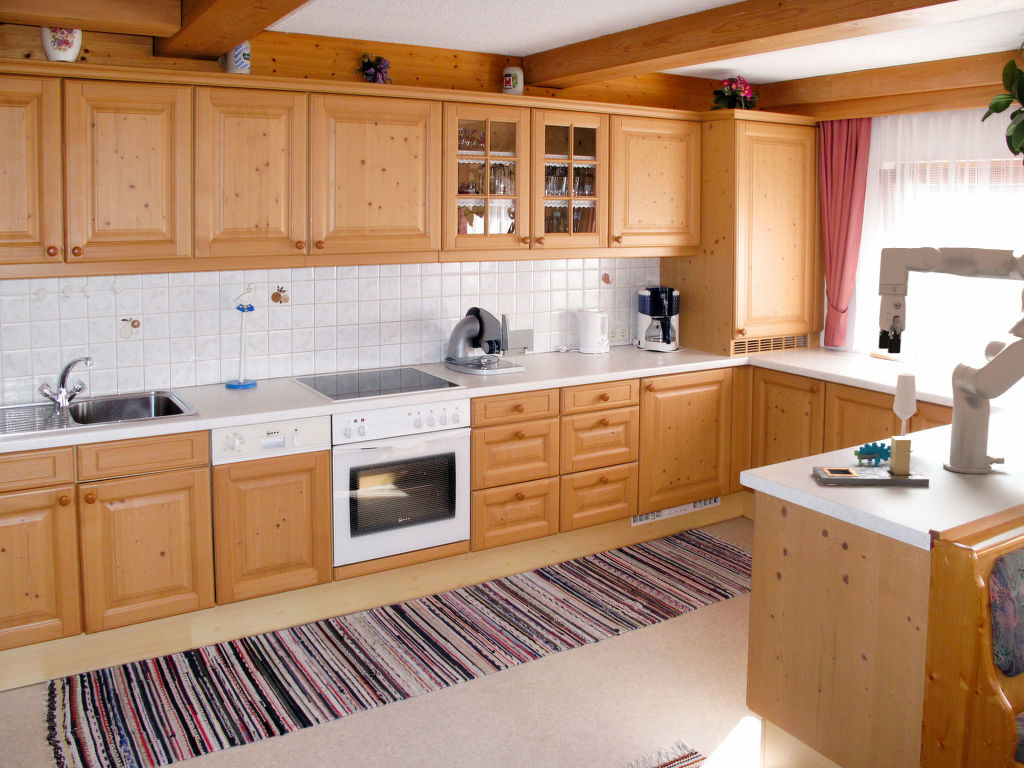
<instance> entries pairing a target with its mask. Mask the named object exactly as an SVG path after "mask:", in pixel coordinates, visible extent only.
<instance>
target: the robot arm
mask: <svg viewBox="0 0 1024 768" xmlns="http://www.w3.org/2000/svg"><path fill="white" fill-rule="evenodd" d="M879 263H880V265H879V280H878V281H879V283H878V294H877V295H878V296H880V297H881V298H880V305H879V317H878V326H879V328H880V329H879V332H878V333H879V334H878V335H879V337H878V349H880V350H887V353H888V354H900V353H901V347H902V332H903V333H904V331H906V317H907V316H906V314H907V313H906V310H907V307H906V306H907V304H906V303H907V302H906V297H907V296H908V289H909V287H908V286H909V278H910V277H909V275H910V273H909V272H916V273H917V272H918V273H924V274H925V273H926V274H927V273H934V274H947V275H953V276H959V277H967V278H968V277H969V278H979V279H995V280H1010V281H1011V280H1012V281H1023V282H1024V249H1019V248H1017V249H1015V248H1003V247H988V246H985V247H984V246H936V245H934V246H933V245H927V244H926V245H925V244H912V245H909V246H905V245H887V246H884V247H882V248H881V251H880V262H879ZM1020 296H1021V310H1020V313H1019V314H1018V316H1017V317H1016V319H1015V320H1014V321H1012V323H1010V325H1008V326H1007V327H1006V328H1005V329H1003V331H1001V332H1000V333H998V335H996V336H995V337H994V338H993V339H992V340H991V341H989V343H988V344H987V345H986V347H985V350H984V356H985V359H986V360H987V361H988V362H984V361H980V360H976V359H968V360H964V361H962V362H959V363H958V364H957V365H956V366H955V367H954V369H953V372H952V376H951V387H952V416H951V417H952V419H951V431H950V432H951V433H950V434H951V435H950V448H949V449H950V450H949V459H948V460H945V461H944V462H943V463H942V465H943V468H944V469H946V470H948V471H952V472H954V473H962V474H968V473H969V475H980V474H981V475H982V474H984V475H985V474H988V473H990V472H992V471H993V469H992V468H993V467H992V465H993V464H995V465H1004V464H1005V458H1004V457H1003V456H1002V457H1001V456H996V455H990V454H988V443H989V442H988V439H989V426H990V416H991V415H990V414H991V402H990V400H992V399H997V398H998V397H1000V396H1002V395H1004V393H1006V392H1007V391H1008V390H1010V389H1011V388H1012V387H1013V386H1014V385H1016V384H1017V383H1018V382H1019V381H1021V380H1022V379H1023V378H1024V287H1023V288H1022V291H1021V295H1020Z"/></svg>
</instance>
